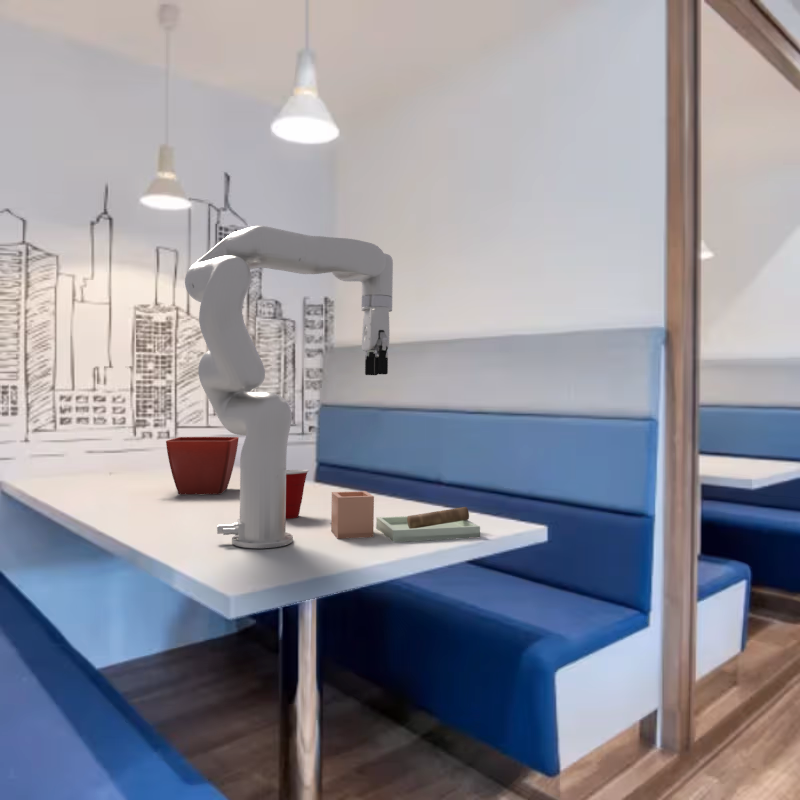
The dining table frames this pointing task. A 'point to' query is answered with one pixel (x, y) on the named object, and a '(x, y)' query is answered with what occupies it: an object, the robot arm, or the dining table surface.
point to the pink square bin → (352, 514)
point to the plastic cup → (294, 491)
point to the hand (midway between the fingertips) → (376, 374)
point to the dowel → (437, 517)
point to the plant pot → (202, 463)
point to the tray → (425, 530)
